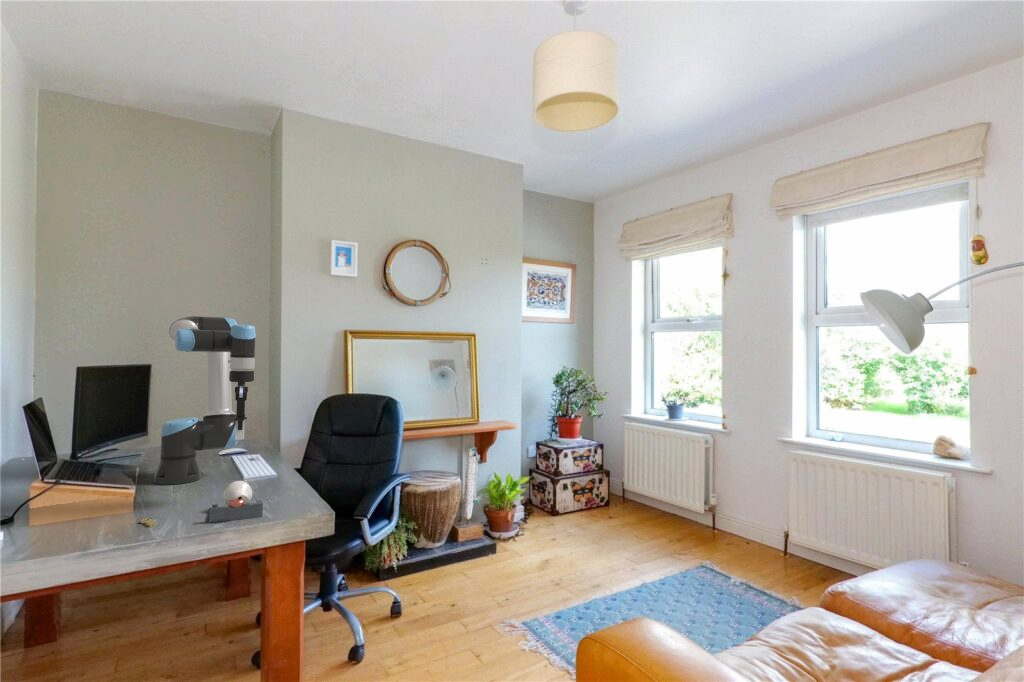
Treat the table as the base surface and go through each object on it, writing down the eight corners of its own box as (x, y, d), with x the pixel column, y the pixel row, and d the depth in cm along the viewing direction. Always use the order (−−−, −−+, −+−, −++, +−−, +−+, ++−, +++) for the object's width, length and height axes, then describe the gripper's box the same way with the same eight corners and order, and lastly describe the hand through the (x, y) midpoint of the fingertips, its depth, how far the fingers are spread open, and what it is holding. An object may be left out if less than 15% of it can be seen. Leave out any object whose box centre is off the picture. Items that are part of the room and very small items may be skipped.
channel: (212, 508, 164) (213, 490, 164) (261, 503, 170) (261, 486, 170) (208, 524, 150) (209, 504, 150) (262, 518, 156) (263, 499, 156)
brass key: (139, 522, 150) (139, 519, 150) (150, 520, 152) (150, 517, 152) (147, 527, 146) (147, 524, 146) (158, 525, 148) (159, 522, 148)
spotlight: (253, 500, 169) (249, 477, 168) (257, 511, 159) (253, 486, 159) (225, 508, 165) (221, 484, 164) (228, 520, 155) (223, 494, 154)
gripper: (230, 369, 180) (227, 436, 180) (228, 370, 169) (226, 443, 168) (254, 369, 184) (251, 435, 183) (254, 371, 172) (252, 441, 172)
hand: (239, 439), depth 176 cm, fingers closed
